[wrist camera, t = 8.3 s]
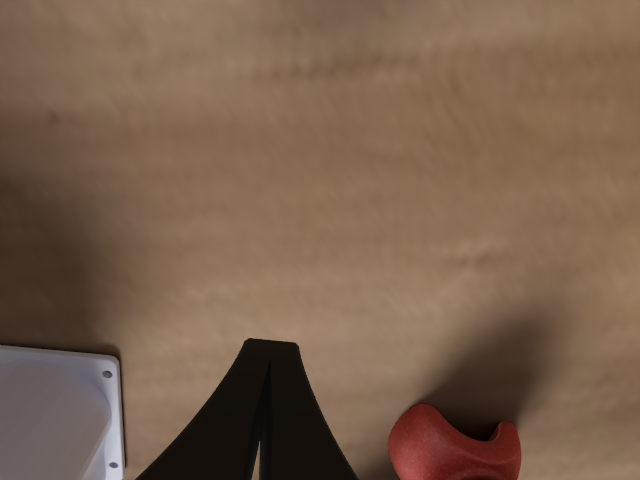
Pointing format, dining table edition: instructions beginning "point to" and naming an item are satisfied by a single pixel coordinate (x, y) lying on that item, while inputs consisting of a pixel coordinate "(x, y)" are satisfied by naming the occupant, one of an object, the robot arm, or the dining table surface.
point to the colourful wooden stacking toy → (450, 449)
